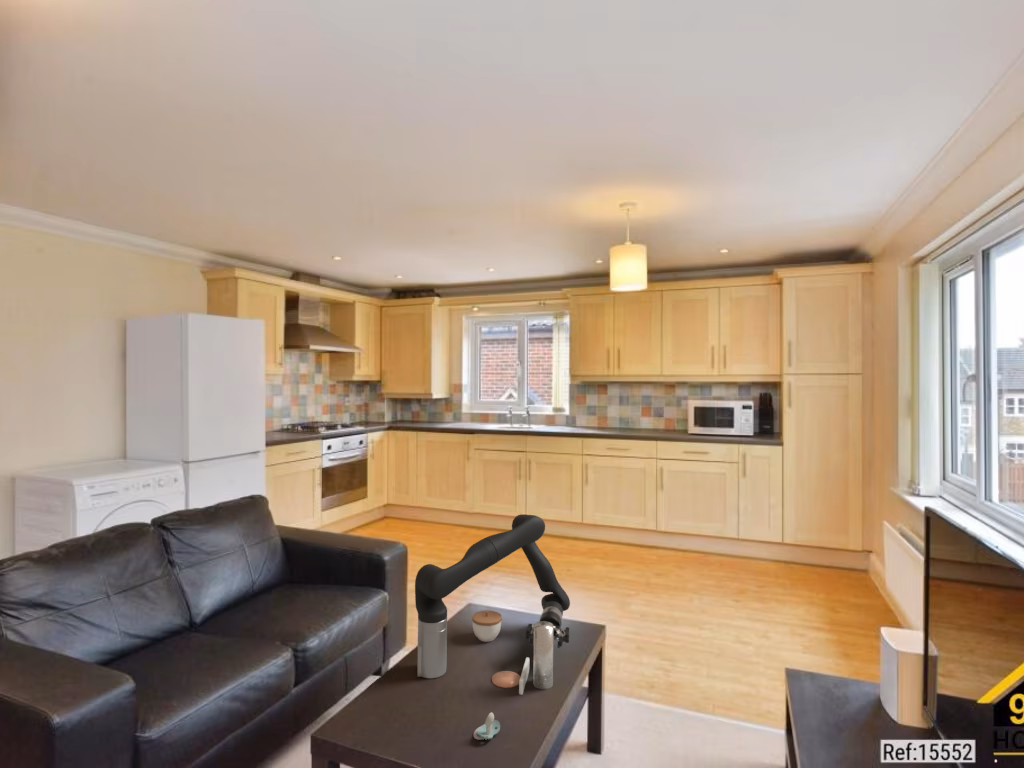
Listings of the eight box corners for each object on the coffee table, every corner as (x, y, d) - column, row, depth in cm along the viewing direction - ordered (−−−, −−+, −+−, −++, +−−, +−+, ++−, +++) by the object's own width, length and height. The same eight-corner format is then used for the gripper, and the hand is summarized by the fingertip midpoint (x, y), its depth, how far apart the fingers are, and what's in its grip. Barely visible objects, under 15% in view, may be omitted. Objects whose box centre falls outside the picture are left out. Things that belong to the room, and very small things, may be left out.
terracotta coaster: (493, 688, 164) (493, 687, 164) (490, 673, 173) (490, 672, 173) (523, 686, 165) (523, 685, 165) (517, 670, 174) (517, 669, 174)
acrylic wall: (522, 694, 161) (522, 681, 161) (519, 694, 161) (519, 680, 161) (529, 670, 175) (529, 657, 175) (526, 669, 175) (526, 657, 175)
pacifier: (468, 739, 141) (487, 747, 138) (468, 714, 141) (487, 722, 138) (484, 724, 147) (503, 731, 144) (484, 701, 147) (502, 707, 144)
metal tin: (535, 690, 163) (536, 630, 163) (531, 679, 169) (532, 621, 169) (554, 688, 164) (555, 629, 164) (550, 677, 170) (550, 620, 170)
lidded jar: (475, 629, 202) (475, 604, 202) (503, 632, 201) (503, 606, 201) (468, 643, 192) (469, 617, 192) (498, 646, 190) (499, 619, 190)
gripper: (530, 608, 189) (523, 629, 173) (571, 612, 187) (568, 634, 171) (530, 630, 189) (522, 653, 173) (571, 634, 187) (567, 657, 171)
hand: (545, 643), depth 172 cm, fingers open, 8 cm apart
